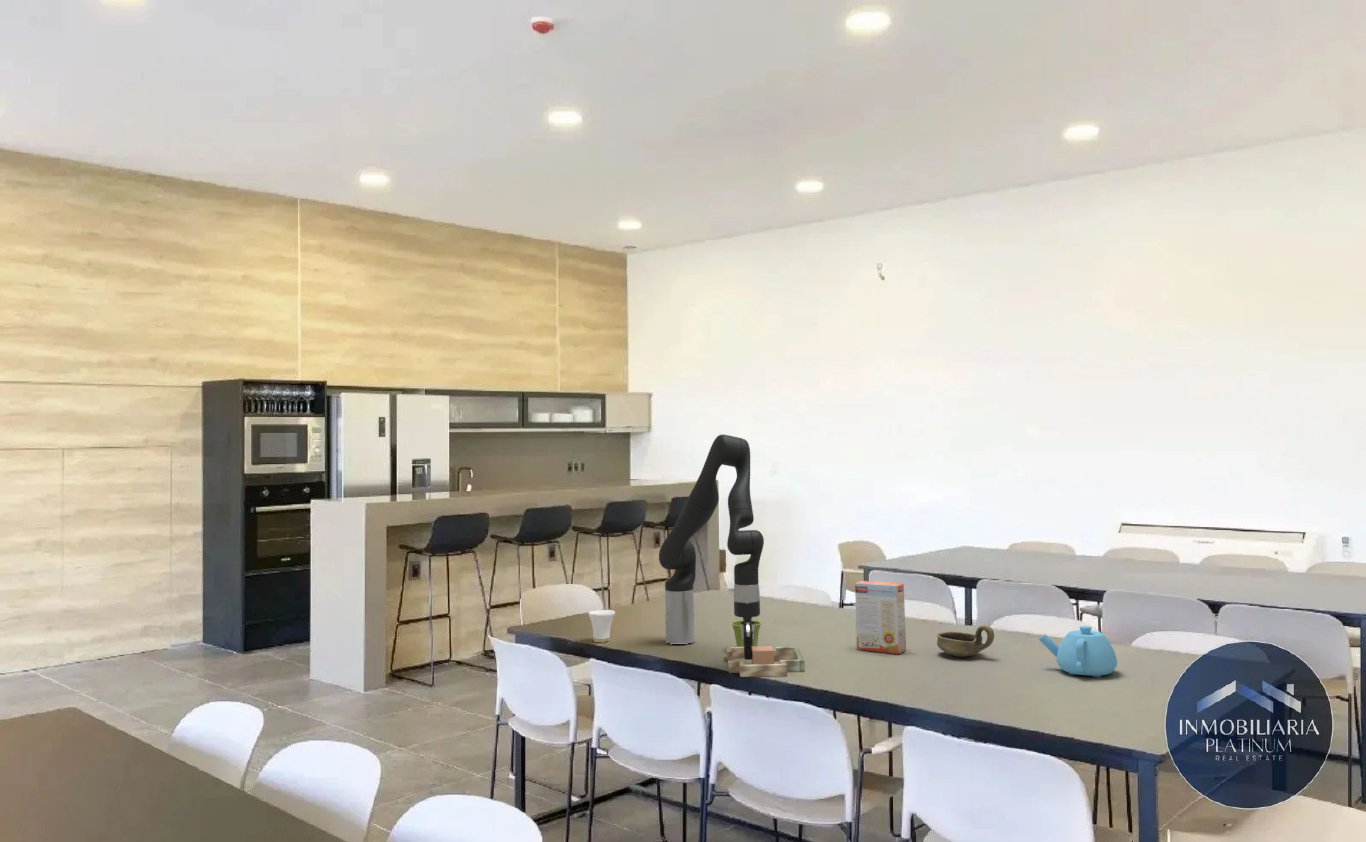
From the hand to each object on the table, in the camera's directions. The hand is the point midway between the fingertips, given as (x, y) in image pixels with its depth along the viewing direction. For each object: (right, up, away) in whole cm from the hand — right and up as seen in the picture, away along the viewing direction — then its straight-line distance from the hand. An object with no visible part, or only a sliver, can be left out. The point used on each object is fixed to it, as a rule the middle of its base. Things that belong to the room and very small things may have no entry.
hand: (748, 659), depth 283 cm
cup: (-46, -4, +40) cm, 61 cm away
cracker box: (+42, -2, +16) cm, 45 cm away
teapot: (+89, 0, -15) cm, 91 cm away
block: (+4, -2, 0) cm, 5 cm away
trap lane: (+4, -2, 0) cm, 5 cm away
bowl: (+65, -1, +6) cm, 65 cm away
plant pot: (+1, -3, +21) cm, 21 cm away
